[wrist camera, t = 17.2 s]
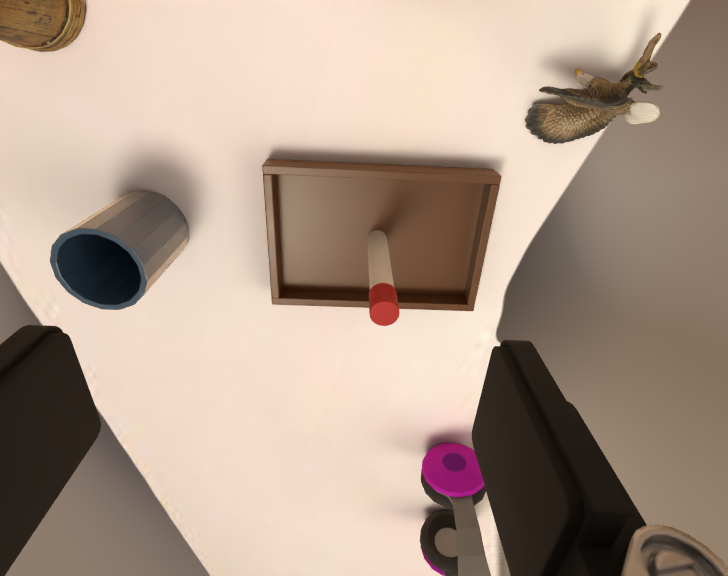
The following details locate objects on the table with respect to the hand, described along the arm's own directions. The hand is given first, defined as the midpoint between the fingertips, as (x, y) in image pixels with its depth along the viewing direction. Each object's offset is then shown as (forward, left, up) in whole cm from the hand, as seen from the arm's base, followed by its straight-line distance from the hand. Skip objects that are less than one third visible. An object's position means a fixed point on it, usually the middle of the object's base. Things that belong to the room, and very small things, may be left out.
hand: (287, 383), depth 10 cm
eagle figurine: (-4, +21, -34) cm, 40 cm away
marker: (+10, +4, -33) cm, 34 cm away
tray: (+10, +4, -33) cm, 35 cm away
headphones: (+50, +17, -34) cm, 63 cm away
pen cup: (+10, -19, -33) cm, 40 cm away
